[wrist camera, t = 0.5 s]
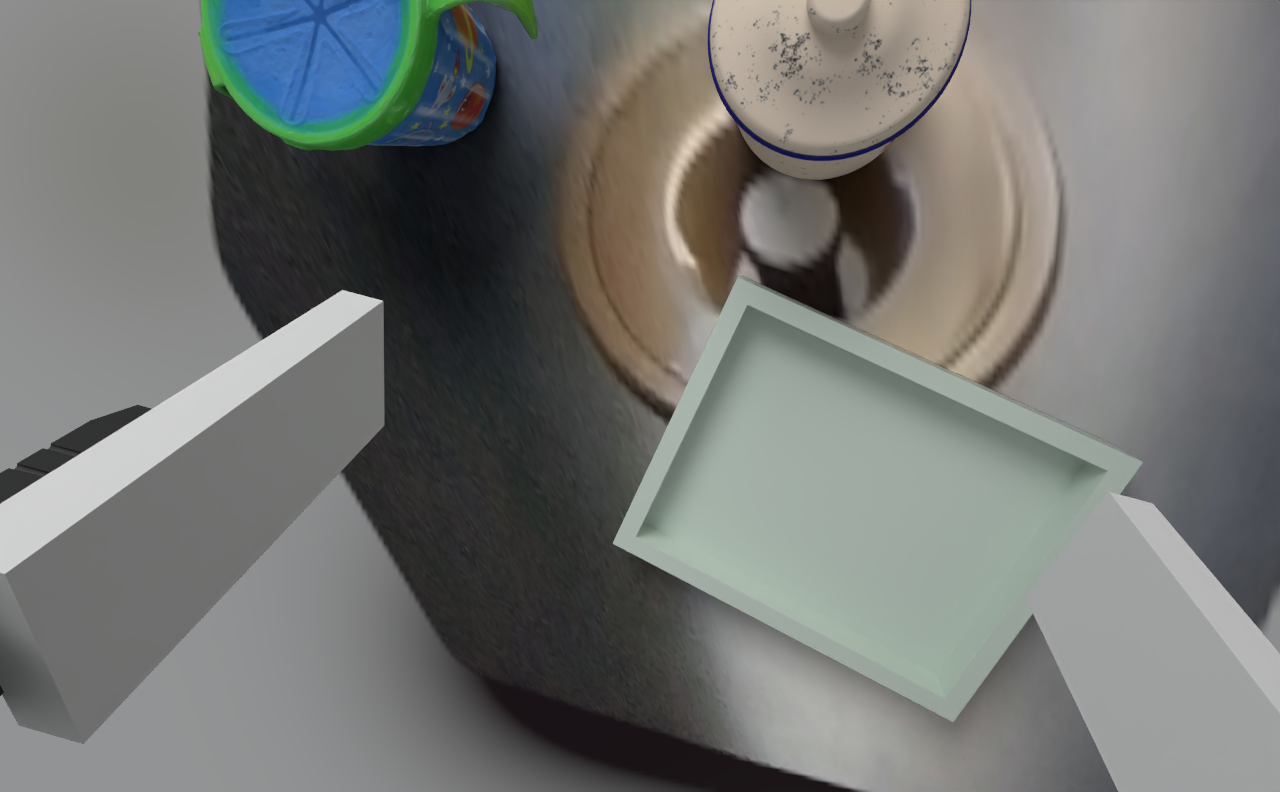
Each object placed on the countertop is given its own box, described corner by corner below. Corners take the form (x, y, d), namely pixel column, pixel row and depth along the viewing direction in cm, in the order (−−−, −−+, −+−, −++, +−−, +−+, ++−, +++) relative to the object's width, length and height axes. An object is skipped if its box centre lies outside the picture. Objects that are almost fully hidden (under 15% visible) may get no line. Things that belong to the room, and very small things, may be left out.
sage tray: (742, 275, 33) (737, 277, 31) (1110, 443, 31) (1143, 462, 28) (625, 522, 38) (612, 543, 35) (940, 685, 36) (953, 722, 33)
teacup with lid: (917, 179, 31) (988, 134, 20) (729, 191, 33) (697, 156, 22) (931, -101, 28) (1022, -334, 17) (727, -69, 30) (691, -259, 19)
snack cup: (334, 190, 38) (178, 166, 28) (303, -2, 36) (122, -99, 26) (580, 159, 34) (497, 119, 24) (560, -58, 32) (461, -195, 22)
